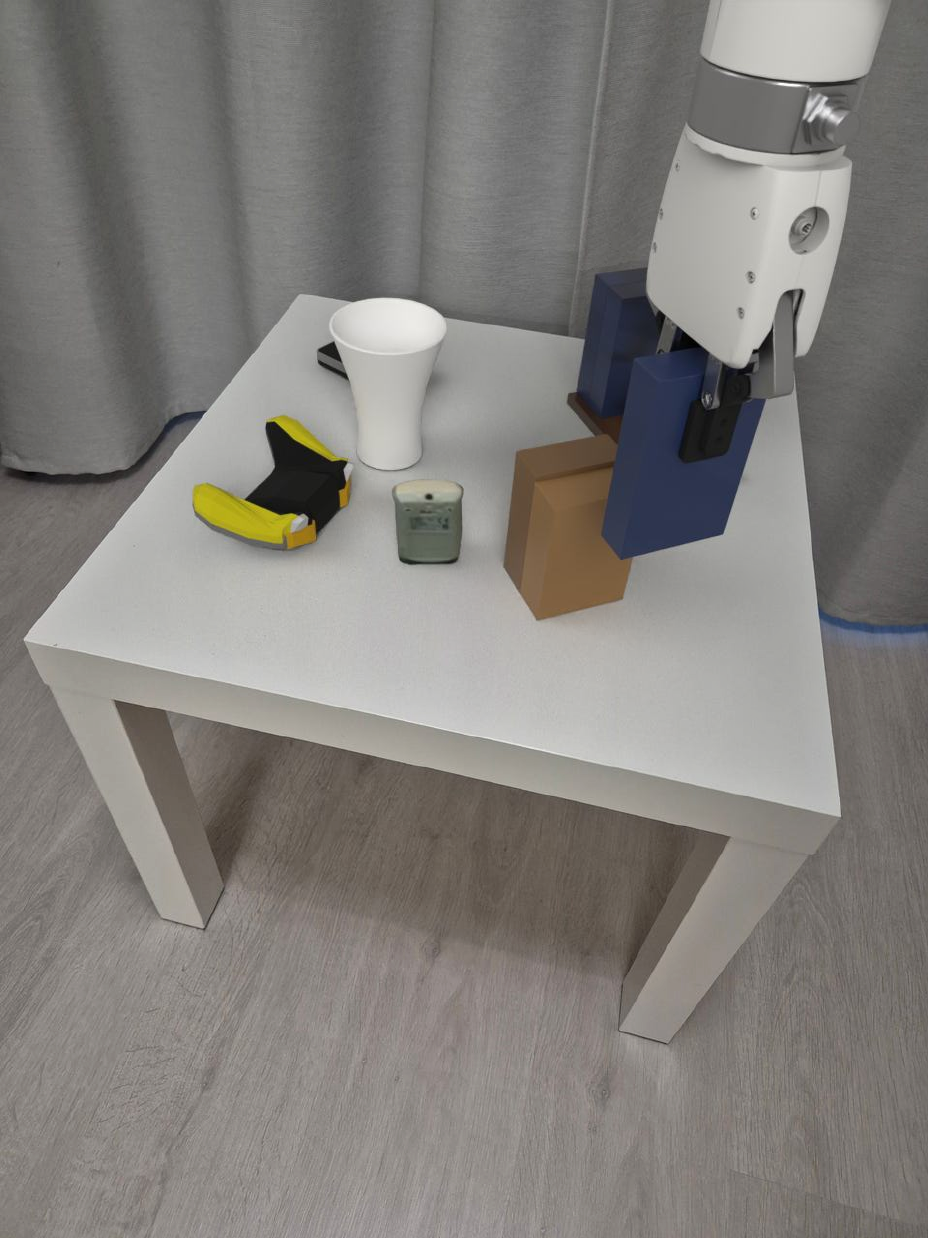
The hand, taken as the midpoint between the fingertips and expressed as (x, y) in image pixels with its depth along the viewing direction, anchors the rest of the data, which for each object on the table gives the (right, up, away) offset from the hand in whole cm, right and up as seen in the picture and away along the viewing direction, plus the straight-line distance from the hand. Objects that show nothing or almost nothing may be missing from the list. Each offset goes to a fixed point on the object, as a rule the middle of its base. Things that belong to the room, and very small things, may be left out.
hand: (686, 438), depth 54 cm
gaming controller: (-30, -1, +26) cm, 40 cm away
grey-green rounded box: (-17, -6, +23) cm, 29 cm away
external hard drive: (-24, +16, +44) cm, 53 cm away
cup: (-21, +5, +34) cm, 40 cm away
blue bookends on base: (+5, +8, +37) cm, 38 cm away
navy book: (0, -5, +5) cm, 8 cm away
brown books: (-5, -8, +21) cm, 23 cm away
